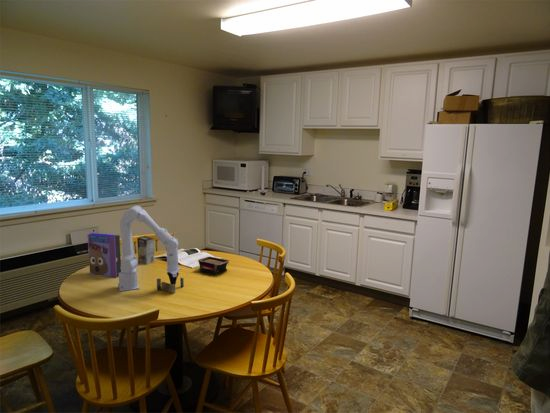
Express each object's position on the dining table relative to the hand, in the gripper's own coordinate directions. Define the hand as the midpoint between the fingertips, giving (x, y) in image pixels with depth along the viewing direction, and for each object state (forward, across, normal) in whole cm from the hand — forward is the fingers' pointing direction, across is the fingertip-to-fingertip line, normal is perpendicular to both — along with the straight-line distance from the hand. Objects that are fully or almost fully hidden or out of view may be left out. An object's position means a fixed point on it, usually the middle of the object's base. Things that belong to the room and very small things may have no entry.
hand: (173, 285), depth 201 cm
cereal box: (+2, +33, +33) cm, 47 cm away
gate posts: (+1, 0, +1) cm, 2 cm away
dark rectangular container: (+2, +18, -27) cm, 32 cm away
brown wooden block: (+1, -4, +3) cm, 5 cm away
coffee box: (+2, +50, +9) cm, 50 cm away
